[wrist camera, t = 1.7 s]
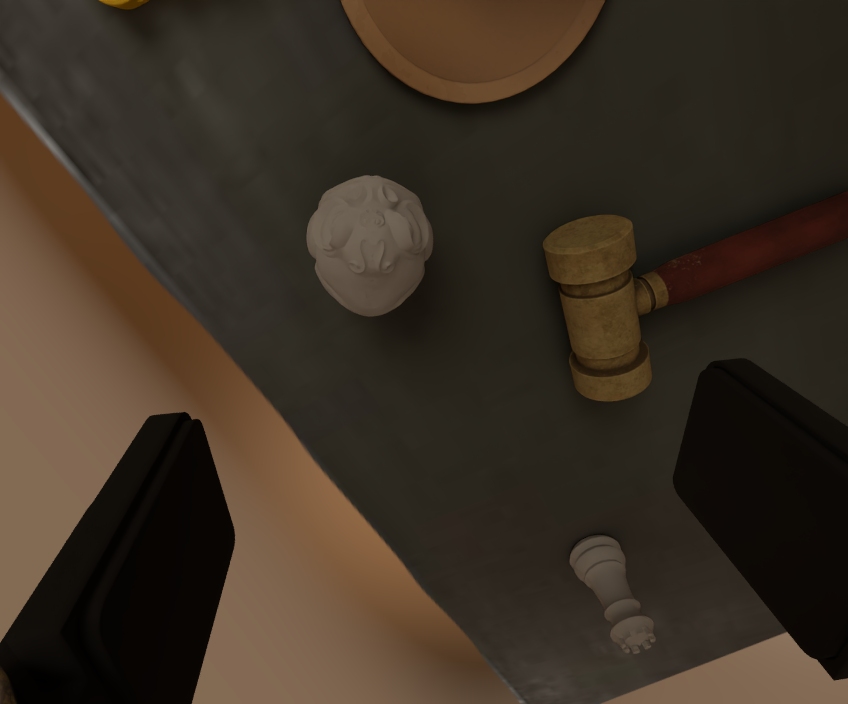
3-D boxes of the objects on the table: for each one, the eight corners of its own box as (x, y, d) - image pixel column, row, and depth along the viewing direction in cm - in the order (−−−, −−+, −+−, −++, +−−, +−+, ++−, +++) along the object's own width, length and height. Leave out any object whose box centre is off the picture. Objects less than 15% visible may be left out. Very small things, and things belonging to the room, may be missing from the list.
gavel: (965, 100, 24) (930, 281, 29) (874, 100, 28) (857, 259, 33) (563, 259, 24) (595, 413, 29) (529, 236, 28) (562, 375, 33)
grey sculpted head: (428, 162, 26) (449, 185, 20) (421, 288, 29) (436, 342, 23) (310, 156, 25) (293, 178, 19) (315, 286, 28) (303, 341, 22)
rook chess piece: (562, 568, 43) (600, 663, 36) (574, 532, 41) (617, 625, 34) (610, 567, 44) (657, 659, 37) (624, 531, 41) (677, 621, 34)
